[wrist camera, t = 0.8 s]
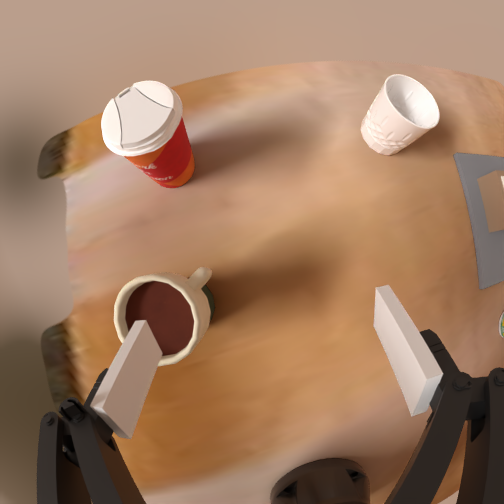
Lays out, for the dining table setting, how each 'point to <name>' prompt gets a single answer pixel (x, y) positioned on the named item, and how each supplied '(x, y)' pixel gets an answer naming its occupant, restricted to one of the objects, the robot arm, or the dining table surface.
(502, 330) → the supplement bottle
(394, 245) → the dining table surface
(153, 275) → the character mug
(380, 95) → the white cup
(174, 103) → the paper cup
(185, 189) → the dining table surface
